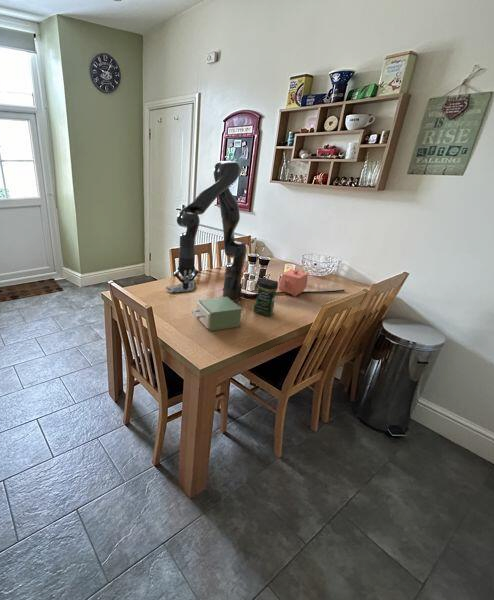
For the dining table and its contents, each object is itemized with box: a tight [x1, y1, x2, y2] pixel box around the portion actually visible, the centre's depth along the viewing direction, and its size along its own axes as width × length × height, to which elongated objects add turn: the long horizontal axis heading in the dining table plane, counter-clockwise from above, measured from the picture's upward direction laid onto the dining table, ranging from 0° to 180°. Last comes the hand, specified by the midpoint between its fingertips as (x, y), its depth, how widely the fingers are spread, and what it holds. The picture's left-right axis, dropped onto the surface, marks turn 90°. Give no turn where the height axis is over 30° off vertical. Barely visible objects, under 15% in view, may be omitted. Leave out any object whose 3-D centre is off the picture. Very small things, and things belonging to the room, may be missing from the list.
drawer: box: [191, 301, 211, 330], centre depth 160 cm, size 19×13×8 cm
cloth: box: [166, 279, 196, 294], centre depth 202 cm, size 26×14×2 cm, turn 131°
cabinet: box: [198, 297, 243, 331], centre depth 161 cm, size 16×15×10 cm
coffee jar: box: [253, 277, 279, 317], centre depth 169 cm, size 10×8×19 cm
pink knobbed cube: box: [278, 269, 308, 297], centre depth 196 cm, size 22×13×14 cm, turn 134°
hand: (185, 289), depth 161 cm, fingers closed
